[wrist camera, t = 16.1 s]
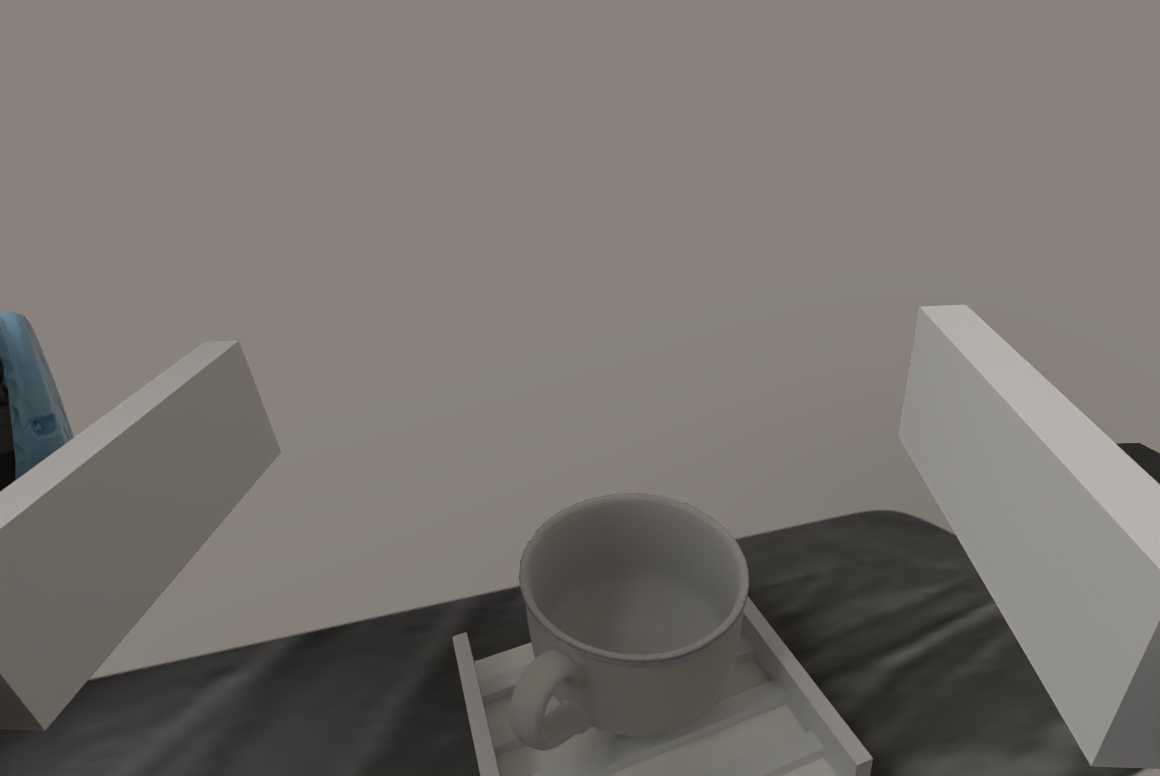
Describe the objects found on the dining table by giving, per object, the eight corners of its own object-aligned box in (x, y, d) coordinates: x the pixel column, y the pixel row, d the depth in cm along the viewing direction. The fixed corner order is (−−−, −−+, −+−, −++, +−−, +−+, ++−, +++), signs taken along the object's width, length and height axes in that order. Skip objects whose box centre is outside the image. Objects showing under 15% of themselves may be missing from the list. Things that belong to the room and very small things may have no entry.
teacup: (634, 569, 42) (625, 465, 38) (788, 667, 34) (795, 550, 31) (450, 718, 34) (415, 605, 30) (598, 885, 27) (577, 764, 23)
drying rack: (523, 962, 26) (509, 917, 24) (464, 680, 38) (452, 636, 36) (864, 807, 30) (873, 758, 28) (713, 594, 42) (712, 551, 40)
